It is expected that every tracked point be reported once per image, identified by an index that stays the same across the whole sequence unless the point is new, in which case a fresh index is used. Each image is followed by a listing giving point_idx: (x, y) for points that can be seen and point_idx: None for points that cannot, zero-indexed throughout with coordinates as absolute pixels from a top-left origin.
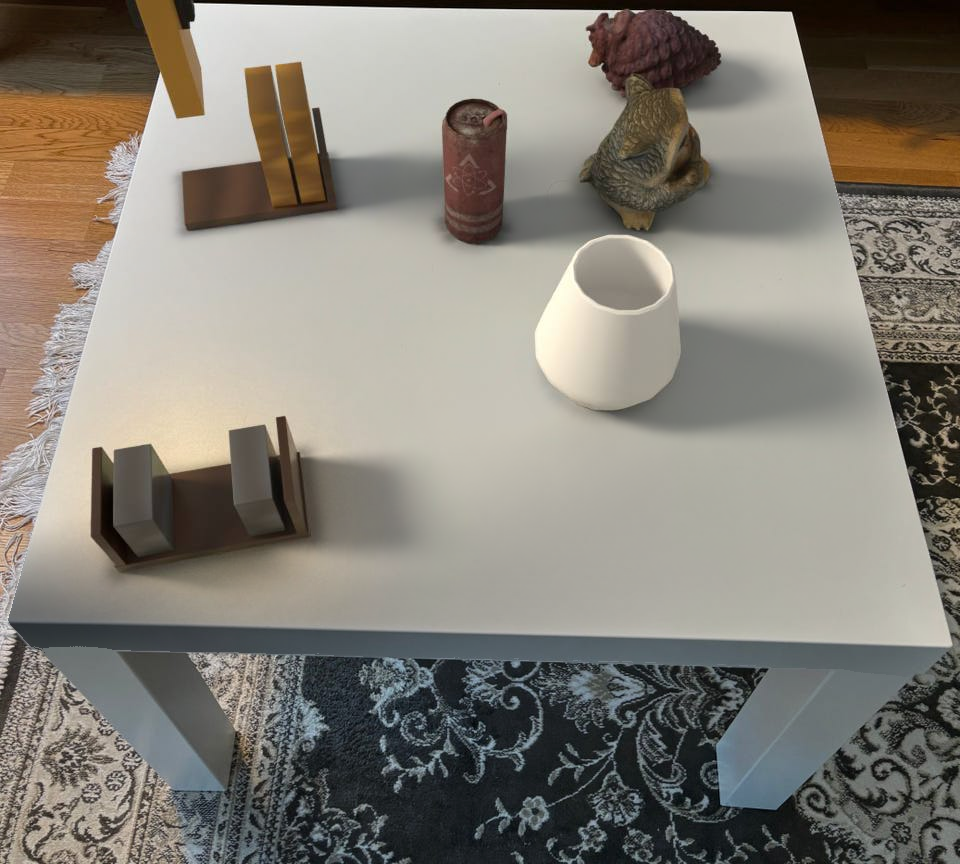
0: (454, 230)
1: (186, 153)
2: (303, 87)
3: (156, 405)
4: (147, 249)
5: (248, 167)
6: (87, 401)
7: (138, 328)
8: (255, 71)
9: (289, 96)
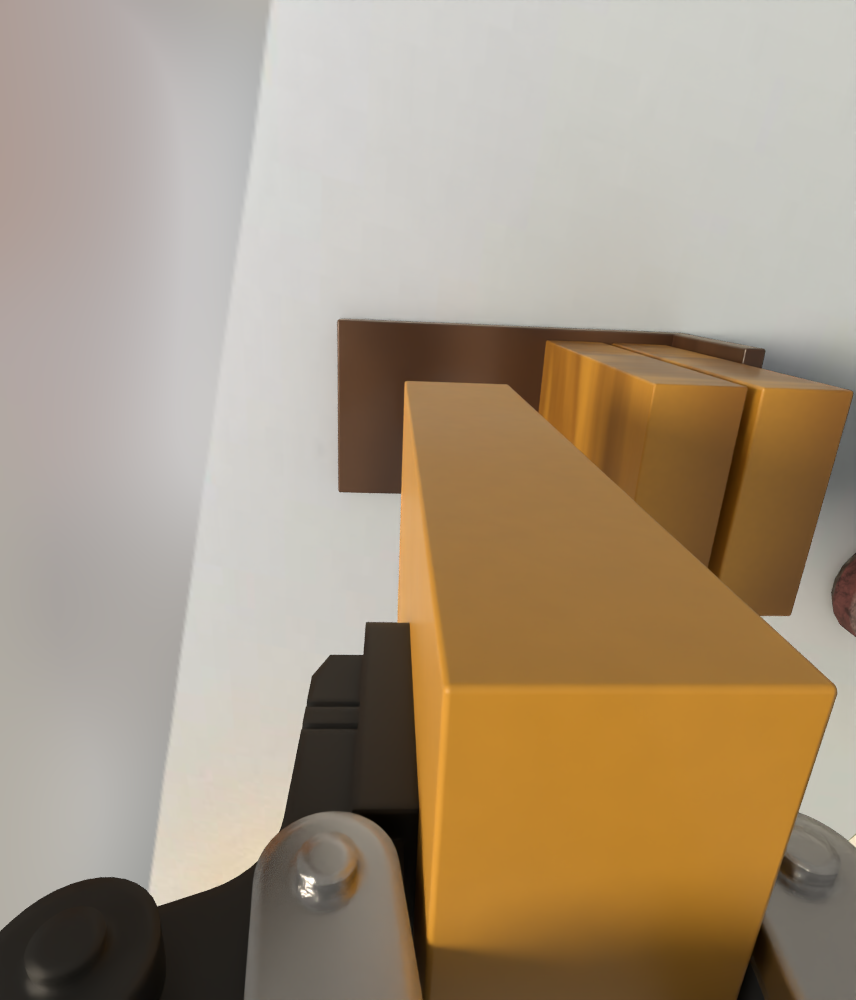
0: (847, 626)
1: (347, 221)
2: (811, 529)
3: (283, 817)
4: (257, 517)
5: (498, 345)
6: (176, 797)
7: (248, 689)
8: (687, 411)
9: (755, 561)
